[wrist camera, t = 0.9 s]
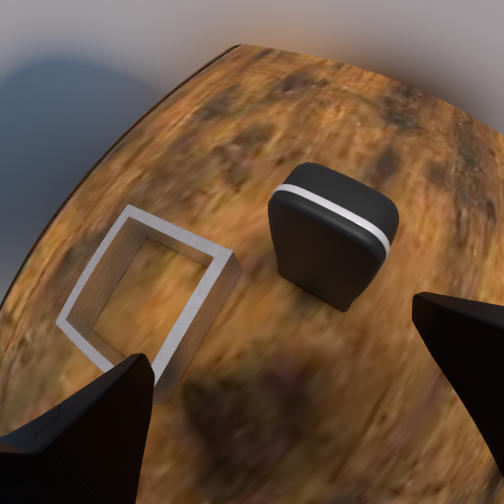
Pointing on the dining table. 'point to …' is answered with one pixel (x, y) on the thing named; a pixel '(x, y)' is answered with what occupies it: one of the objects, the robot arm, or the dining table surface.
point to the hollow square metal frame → (111, 271)
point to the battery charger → (330, 232)
